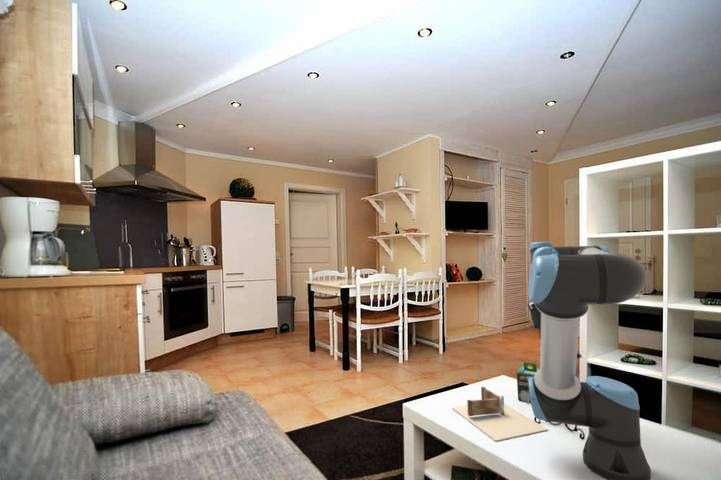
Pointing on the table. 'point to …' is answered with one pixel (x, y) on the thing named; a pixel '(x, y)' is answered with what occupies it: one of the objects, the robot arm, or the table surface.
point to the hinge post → (501, 405)
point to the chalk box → (525, 381)
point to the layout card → (502, 423)
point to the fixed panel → (488, 394)
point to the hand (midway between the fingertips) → (545, 348)
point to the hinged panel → (483, 407)
